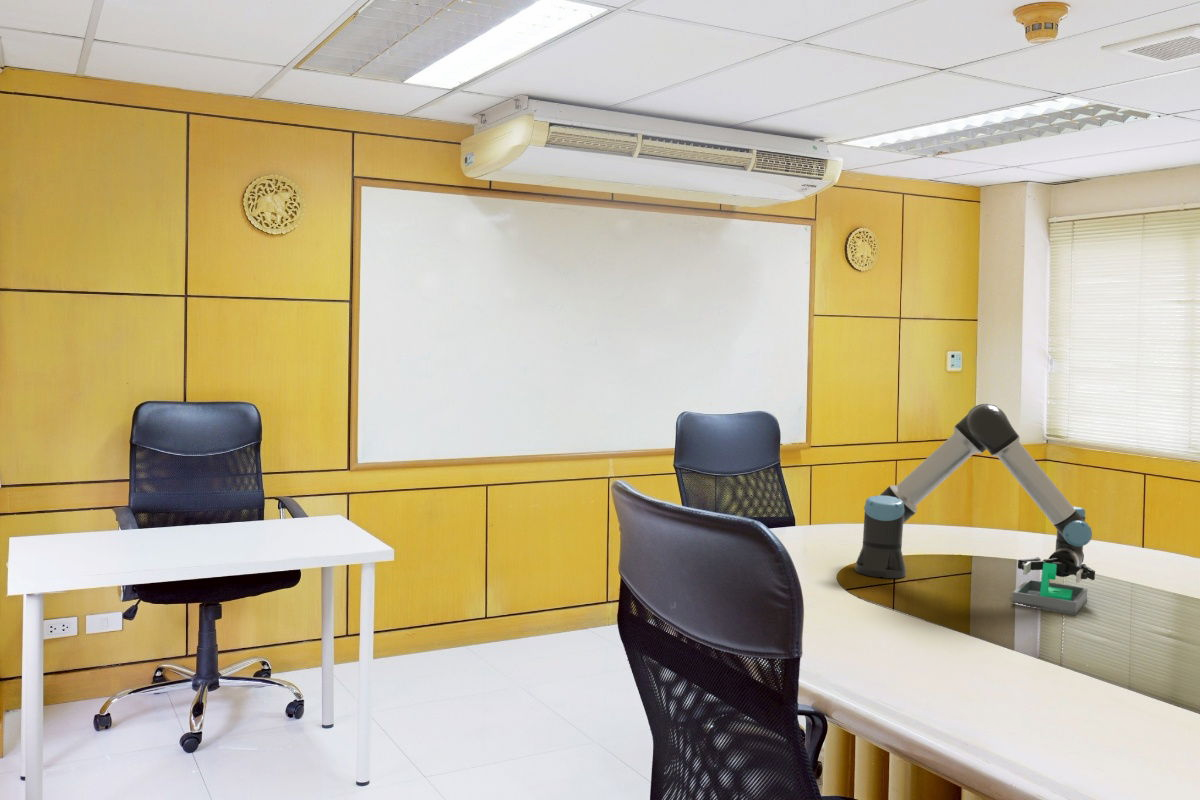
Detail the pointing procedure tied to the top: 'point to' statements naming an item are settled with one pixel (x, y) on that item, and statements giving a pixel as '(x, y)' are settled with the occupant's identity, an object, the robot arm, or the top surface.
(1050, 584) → the tray
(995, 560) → the top surface
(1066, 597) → the camera mount
